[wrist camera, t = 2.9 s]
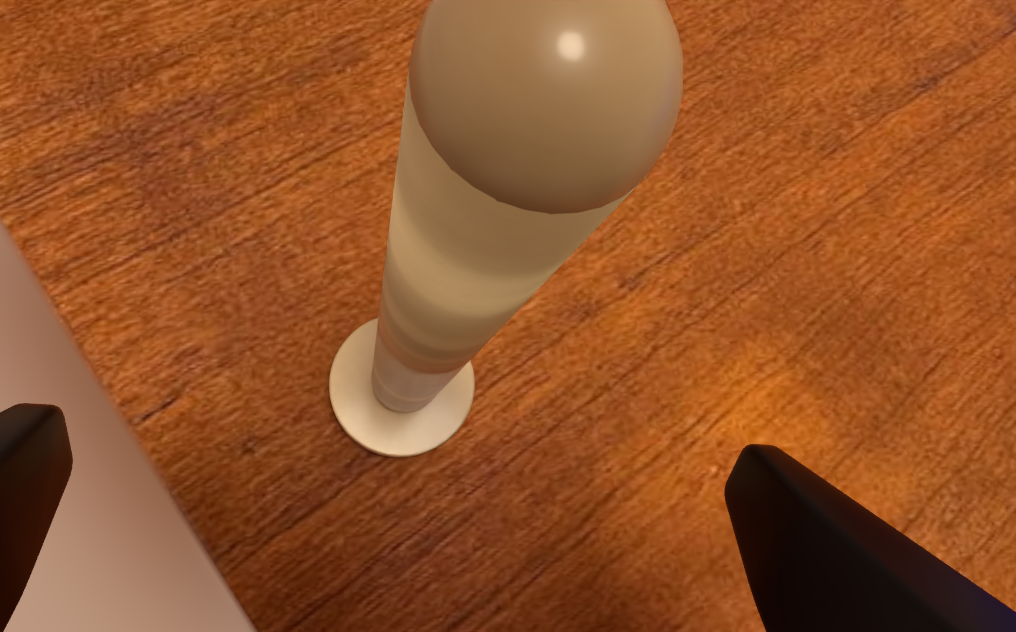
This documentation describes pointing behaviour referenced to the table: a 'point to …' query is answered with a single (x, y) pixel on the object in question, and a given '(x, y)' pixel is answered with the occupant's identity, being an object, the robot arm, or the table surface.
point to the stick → (499, 190)
